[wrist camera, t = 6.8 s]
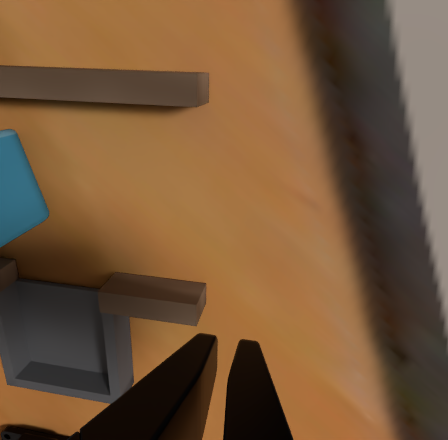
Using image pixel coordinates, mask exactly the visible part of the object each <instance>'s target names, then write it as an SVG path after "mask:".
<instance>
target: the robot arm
mask: <svg viewBox="0 0 448 440" xmlns="http://www.w3.org/2000/svg"><path fill="white" fill-rule="evenodd" d="M217 346H218V340H217V337H216V336H215V335H211V334H204V333H199V334H197V335H196V336H194V337H193V338H192V339H191V340H190V341H188V342H187V343H186V344H185V345H183V346H182V347H181V348H180V349H178V350H177V351H176V352H175V353H173V354H172V355H171V356H170V357H168V358H167V359H166V360H165V361H164V362H162V363H161V364H160V365H159V366H157V367H156V368H155V369H154V370H152V371H151V372H150V373H149V374H147V375H146V376H145V377H144V378H142V379H141V380H140V381H139V382H138V383H136V384H135V385H134V386H133V387H131V388H130V389H129V390H128V391H126V392H125V393H124V394H123V395H121V396H120V397H119V398H118V399H116V400H115V401H114V402H113V403H112V404H110V405H109V406H108V407H107V408H105V409H104V410H103V411H102V412H100V413H99V414H98V415H97V416H95V417H94V418H93V419H92V420H90V421H89V422H88V423H87V424H86V425H84V426H83V427H82V428H81V429H80V433H79V432H75V433H74V434H73V435H72V436H70V437H69V438H64V437H59V436H54V435H49V434H44V433H39V432H34V431H29V430H24V429H20V428H15V427H6V428H5V429H4V430H3V431H2V433H1V438H2V440H202V437H203V433H204V429H205V424H206V419H207V415H208V410H209V405H210V401H211V396H212V391H213V387H214V382H215V377H216V372H217ZM223 440H293V437H292V434H291V431H290V429H289V426H288V423H287V420H286V417H285V415H284V412H283V409H282V406H281V403H280V401H279V398H278V395H277V392H276V389H275V387H274V384H273V381H272V378H271V375H270V373H269V370H268V367H267V364H266V361H265V359H264V356H263V353H262V350H261V348H260V345H259V343H258V342H257V341H252V340H245V339H241V340H240V341H239V343H238V346H237V349H236V353H235V356H234V359H233V363H232V366H231V369H230V373H229V377H228V383H227V394H226V408H225V422H224V436H223Z"/></svg>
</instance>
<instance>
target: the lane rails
mask: <svg viewBox="0 0 448 440" xmlns="http://www.w3.org/2000/svg"><path fill="white" fill-rule="evenodd" d="M0 97H6V98H26V99H46V100H66V101H86V102H106V103H125V104H145V105H165V106H185V107H199V106H201V105H204V104H206V103H209V73H200V72H172V71H144V70H116V69H88V68H60V67H32V66H4V65H0ZM17 279H19V276H18V271H17V266H16V261H15V260H14V259H6V258H0V292H1V291H3V290H4V289H5V288H7V287H8V286H9V285H11V284H12V283H13V282H15V281H16V280H17ZM98 300H99V310H100V312H101V313H108V314H115V315H122V316H129V317H136V318H143V319H150V320H157V321H164V322H170V323H177V324H184V325H191V326H197V324H198V321H199V319H200V316H201V314H202V312H203V309H204V307H205V304H206V283H198V282H190V281H182V280H174V279H166V278H158V277H150V276H142V275H134V274H126V273H118V272H115V273H114V274H113V275H112V276H111V278H110V279H109V280H108V281H107V282H106V283H105V284H104V285H103V286H102V287H101V289H100V290H99V291H98Z"/></svg>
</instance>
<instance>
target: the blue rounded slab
mask: <svg viewBox="0 0 448 440" xmlns="http://www.w3.org/2000/svg"><path fill="white" fill-rule="evenodd" d="M48 216H49V210H48V208H47V205H46V203H45V200H44V198H43V196H42V193H41V191H40V188H39V186H38V183H37V181H36V178H35V176H34V174H33V171H32V169H31V166H30V164H29V161H28V159H27V157H26V154H25V152H24V149H23V147H22V144H21V142H20V139H19V137H18V135H17V133H16V131H14V130H12V129H6V130H1V131H0V247H2V246H4V245H5V244H7V243H9V242H10V241H12V240H14V239H15V238H17V237H19V236H20V235H22V234H24V233H25V232H27V231H29V230H30V229H32V228H33V227H35V226H37V225H38V224H40V223H42V222H43V221H45V220H46V219H47V218H48Z"/></svg>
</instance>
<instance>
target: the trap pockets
mask: <svg viewBox="0 0 448 440" xmlns="http://www.w3.org/2000/svg"><path fill="white" fill-rule="evenodd" d="M99 290H100V289H96V288H88V287H80V286H73V285H65V284H58V283H50V282H43V281H35V280H28V279H20V278H19V279H17V280H16V281H15V282H13V283H12V284H11V285H9V286H8V287H7V288H5V289H4V290H3V291H1V292H0V355H1V360H2V364H3V368H4V373H5V377H6V381H7V385H11V386H17V387H22V388H28V389H33V390H39V391H44V392H49V393H55V394H60V395H66V396H71V397H77V398H82V399H88V400H93V401H99V402H104V403H109V404H112V403H113V402H114V401H115V400H116V399H118V398H119V397H120V396H121V395H123V394H124V393H125V392H126V391H128V390H129V389H130V388H131V387H132V385H133V383H134V377H133V363H132V349H131V336H130V322H129V316H122V315H115V314H108V313H101V312H100V310H99V300H98V291H99Z"/></svg>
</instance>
